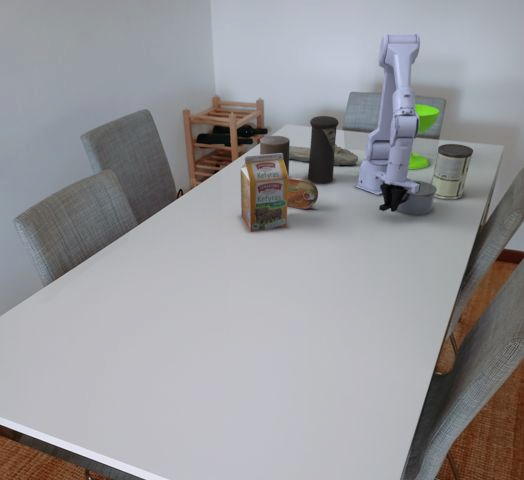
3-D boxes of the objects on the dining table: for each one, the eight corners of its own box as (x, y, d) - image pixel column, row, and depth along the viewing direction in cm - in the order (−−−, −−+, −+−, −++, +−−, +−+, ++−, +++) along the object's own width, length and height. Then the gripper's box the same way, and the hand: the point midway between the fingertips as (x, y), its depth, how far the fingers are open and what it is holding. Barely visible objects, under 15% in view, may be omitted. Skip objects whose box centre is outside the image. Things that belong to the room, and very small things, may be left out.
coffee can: (426, 187, 169) (435, 143, 160) (458, 188, 168) (469, 144, 159) (431, 199, 161) (441, 153, 152) (465, 200, 160) (477, 154, 151)
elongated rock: (272, 153, 200) (263, 162, 193) (271, 139, 196) (262, 148, 190) (360, 159, 189) (354, 169, 182) (361, 144, 185) (355, 154, 178)
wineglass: (376, 158, 192) (383, 106, 180) (410, 152, 197) (419, 102, 186) (402, 171, 180) (411, 117, 169) (438, 165, 186) (449, 112, 174)
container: (331, 185, 170) (337, 121, 157) (305, 183, 171) (308, 120, 159) (334, 176, 176) (340, 114, 164) (308, 174, 178) (312, 113, 165)
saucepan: (363, 215, 150) (367, 190, 146) (408, 197, 162) (412, 173, 157) (395, 228, 144) (400, 202, 139) (439, 208, 155) (445, 184, 150)
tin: (269, 202, 158) (270, 175, 153) (274, 199, 160) (274, 172, 155) (314, 211, 153) (316, 184, 147) (318, 208, 155) (320, 180, 150)
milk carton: (250, 231, 142) (249, 162, 130) (241, 216, 150) (240, 150, 138) (286, 227, 144) (288, 159, 132) (275, 212, 152) (277, 147, 140)
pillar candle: (288, 187, 168) (290, 140, 159) (259, 186, 169) (259, 139, 159) (288, 176, 176) (289, 131, 167) (260, 176, 176) (260, 130, 167)
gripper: (368, 158, 142) (362, 205, 150) (411, 172, 133) (402, 221, 141) (384, 153, 145) (377, 199, 154) (427, 166, 137) (417, 214, 145)
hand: (390, 209), depth 148 cm, fingers closed on saucepan
